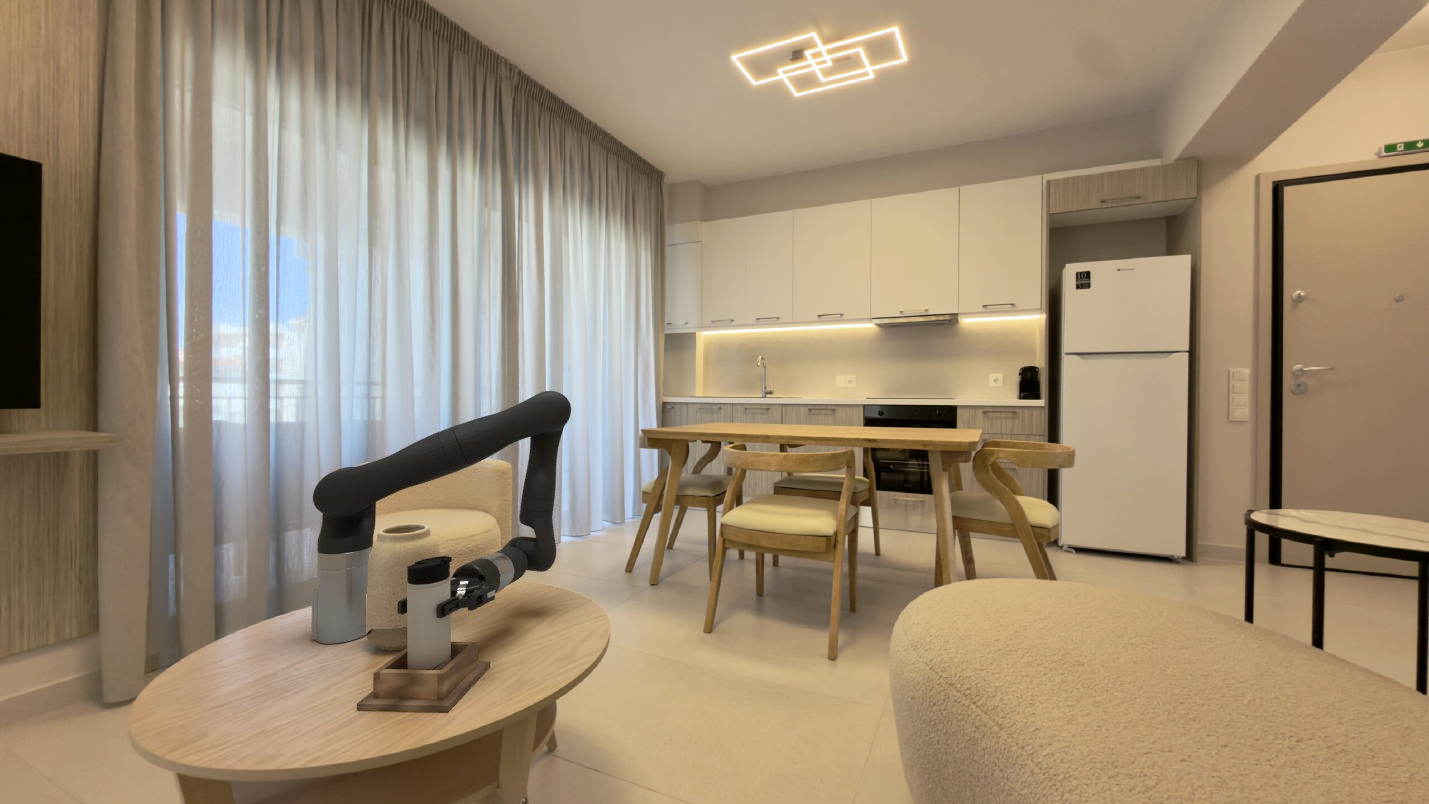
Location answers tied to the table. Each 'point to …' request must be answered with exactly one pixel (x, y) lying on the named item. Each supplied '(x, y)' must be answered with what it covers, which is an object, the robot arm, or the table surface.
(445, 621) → the travel mug
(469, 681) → the mug holder
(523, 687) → the table surface
